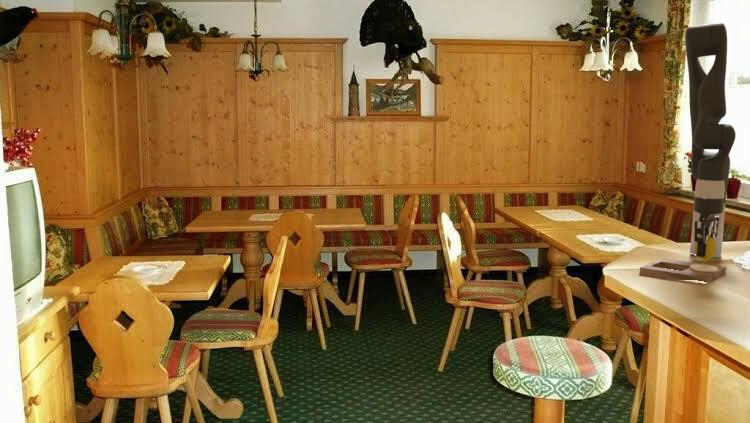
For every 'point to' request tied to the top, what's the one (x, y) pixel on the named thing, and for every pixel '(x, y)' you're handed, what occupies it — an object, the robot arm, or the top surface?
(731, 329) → the top surface
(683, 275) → the pocket board
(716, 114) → the robot arm
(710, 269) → the saucer
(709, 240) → the lemon
